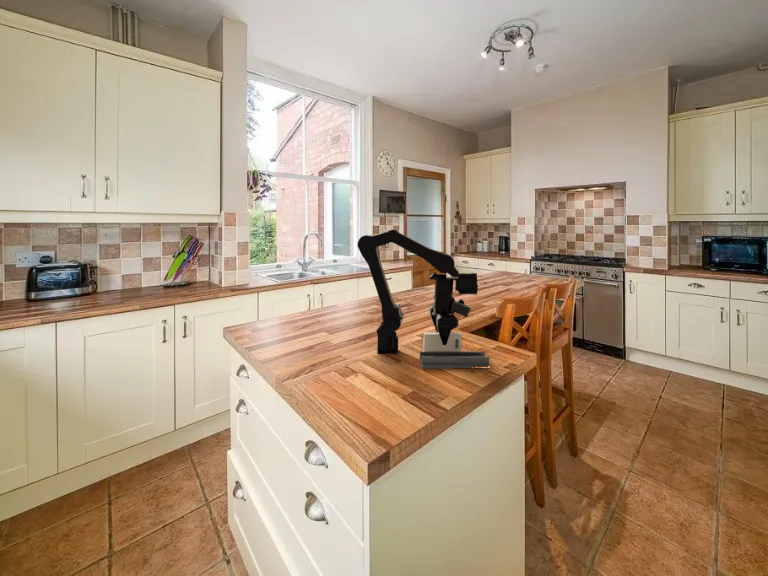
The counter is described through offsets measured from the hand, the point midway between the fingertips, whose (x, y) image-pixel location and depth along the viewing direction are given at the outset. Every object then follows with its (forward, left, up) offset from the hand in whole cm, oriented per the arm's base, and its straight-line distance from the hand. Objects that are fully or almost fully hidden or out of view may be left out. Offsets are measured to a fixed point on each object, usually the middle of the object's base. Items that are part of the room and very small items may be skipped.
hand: (441, 340), depth 116 cm
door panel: (0, 0, -5) cm, 5 cm away
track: (+2, -9, -4) cm, 10 cm away
